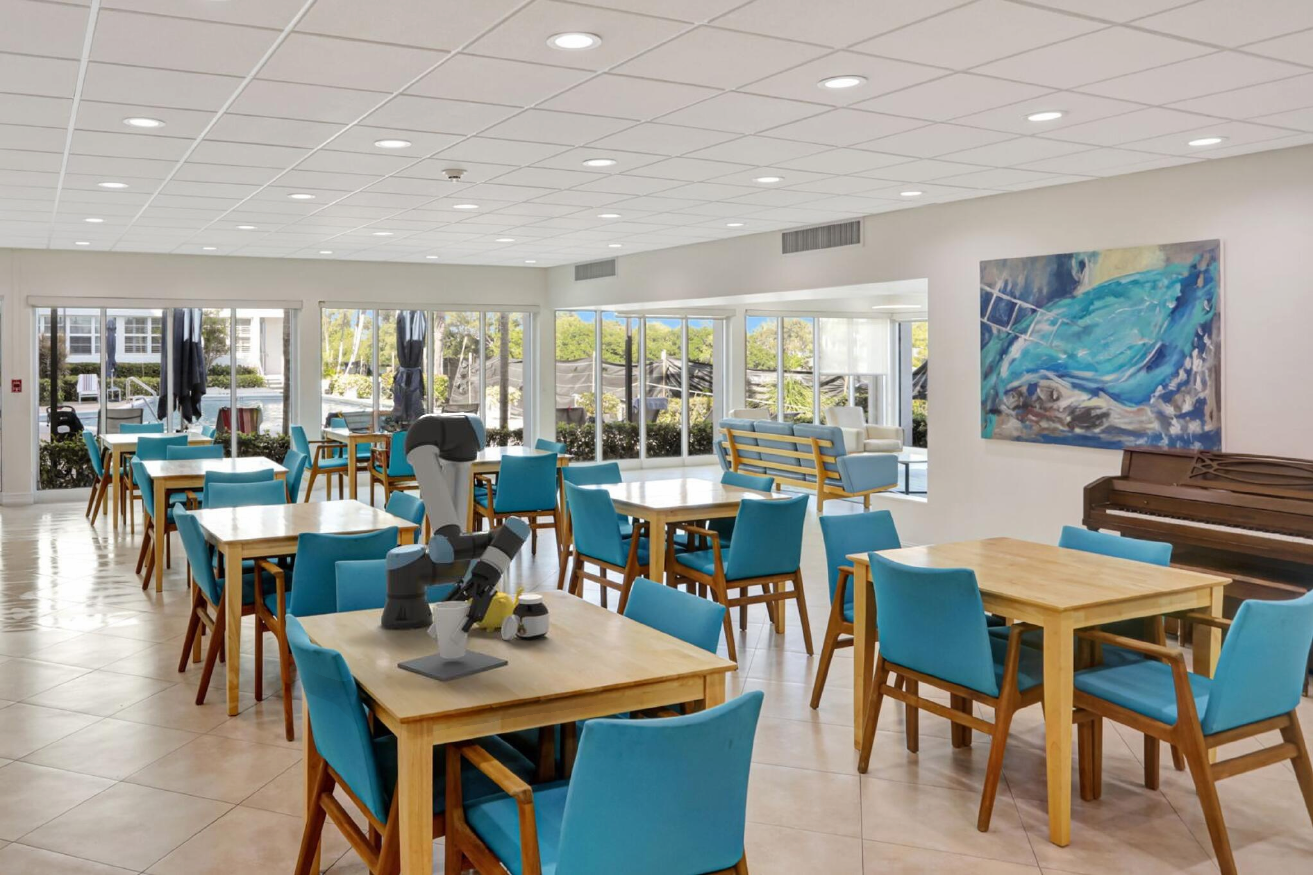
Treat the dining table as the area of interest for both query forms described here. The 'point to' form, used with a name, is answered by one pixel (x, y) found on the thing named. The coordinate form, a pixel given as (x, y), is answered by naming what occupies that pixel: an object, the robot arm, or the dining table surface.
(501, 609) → the teapot
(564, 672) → the dining table surface
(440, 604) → the foam cup
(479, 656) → the rubber mat
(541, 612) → the spread jar
